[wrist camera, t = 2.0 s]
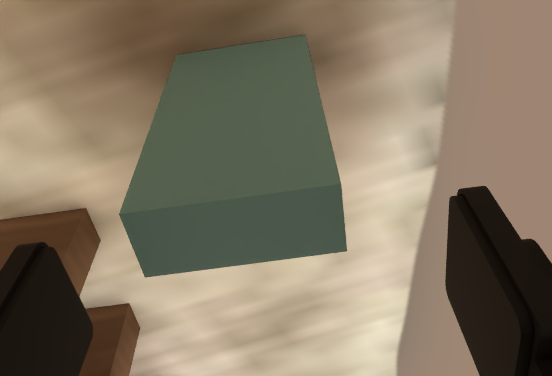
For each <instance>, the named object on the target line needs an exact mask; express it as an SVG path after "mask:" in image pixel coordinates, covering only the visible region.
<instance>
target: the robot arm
mask: <svg viewBox="0 0 552 376" xmlns="http://www.w3.org/2000/svg"><path fill="white" fill-rule="evenodd" d="M448 219H449V220H448V239H447V260H446V291H447V295H448V298H449V301H450V303H451V305H452V308H453V311H454V313H455V316H456V318H457V321H458V323H459V326H460V328H461V330H462V333H463V335H464V338H465V340H466V343H467V345H468V348H469V350H470V352H471V355H472V357H473V360H474V363H475V365H476V367H477V370H478V372H479V375H480V376H552V263H551V262H550V261H549V259H548V258H547V256H546V255H545V254H544V252H543V250H542V249H541V248H540V246H539V245H538V244H537V243H536V241H534V240H532V239H523V240H521V238H520V237H519V235H518V234H517V232H516V231H515V229H514V228H513V226H512V224H511V223H510V222H509V220H508V218H507V217H506V215H505V214H504V212H503V211H502V209H501V208H500V206H499V205H498V203H497V202H496V200H495V199H494V197H493V196H492V194H491V193H490V191H489V190H488V188H487V187H486V186H479V187H471V188H463V189H459V190H458V193H457V196H451V197H450V201H449V218H448ZM92 337H93V324H92V322H91V320H90V318H89V316H88V314H87V312H86V310H85V308H84V306H83V304H82V302H81V300H80V298H79V296H78V294H77V292H76V290H75V288H74V286H73V284H72V281H71V279H70V277H69V275H68V273H67V271H66V269H65V267H64V265H63V263H62V261H61V259H60V257H59V255H58V253H57V251H56V250H55V248H53V247H49V246H48V245H47V244H46V243H45V242H36V243H28V244H20V245H18V246H16V248H15V249H14V250H13V252H12V253H11V255H10V256H9V258H8V260H7V261H6V263H5V264H4V266H3V267H2V269H1V270H0V376H79V373H80V371H81V368H82V365H83V362H84V360H85V357H86V354H87V351H88V349H89V346H90V343H91V340H92Z"/></svg>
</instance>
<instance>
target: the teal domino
mask: <svg viewBox="0 0 552 376" xmlns="http://www.w3.org/2000/svg"><path fill="white" fill-rule="evenodd" d="M119 215H120V217H121V220H122V222H123V225H124V227H125V230H126V232H127V235H128V237H129V239H130V242H131V244H132V247H133V249H134V252H135V254H136V257H137V259H138V261H139V264H140V266H141V269H142V271H143V274H144V276H145V277H152V276H160V275H167V274H175V273H183V272H190V271H198V270H206V269H214V268H221V267H229V266H237V265H245V264H252V263H260V262H268V261H275V260H283V259H291V258H299V257H306V256H314V255H322V254H329V253H337V252H345V251H347V246H346V235H345V223H344V212H343V201H342V189H341V182H340V177H339V173H338V169H337V165H336V161H335V157H334V152H333V148H332V144H331V140H330V136H329V132H328V127H327V123H326V119H325V115H324V111H323V107H322V102H321V98H320V94H319V90H318V86H317V81H316V77H315V73H314V69H313V65H312V61H311V56H310V52H309V48H308V44H307V40H306V36H305V35H301V36H295V37H288V38H282V39H275V40H269V41H262V42H256V43H250V44H243V45H237V46H230V47H224V48H217V49H211V50H204V51H198V52H191V53H185V54H178V55H176V58H175V60H174V63H173V66H172V69H171V71H170V74H169V77H168V80H167V83H166V85H165V88H164V91H163V94H162V96H161V99H160V102H159V105H158V108H157V110H156V113H155V116H154V119H153V121H152V124H151V127H150V130H149V133H148V135H147V138H146V141H145V144H144V146H143V149H142V152H141V155H140V158H139V160H138V163H137V166H136V169H135V171H134V174H133V177H132V180H131V183H130V185H129V188H128V191H127V194H126V197H125V199H124V202H123V205H122V208H121V210H120V213H119Z"/></svg>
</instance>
